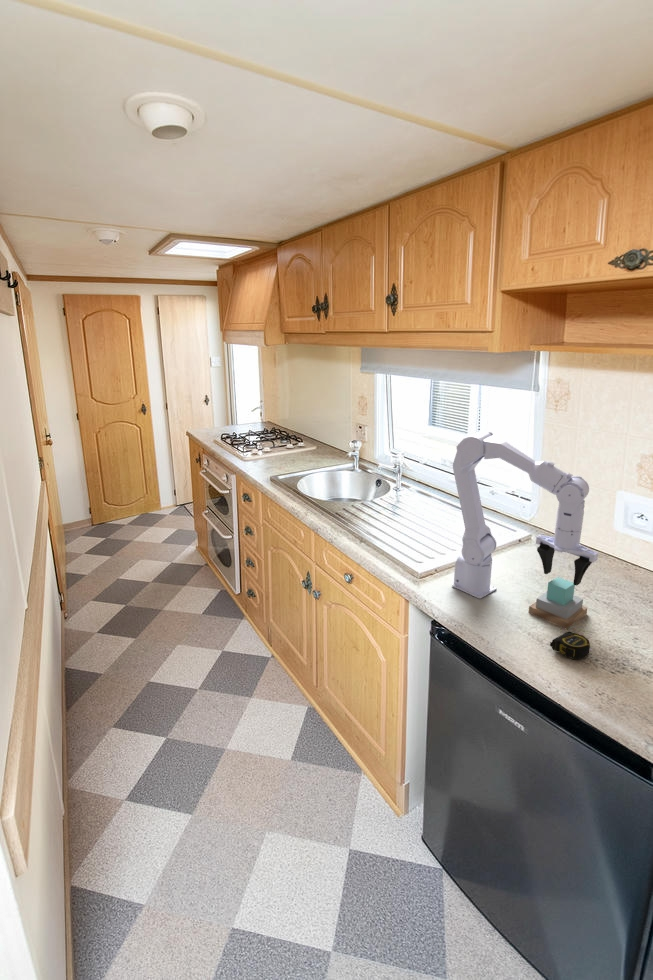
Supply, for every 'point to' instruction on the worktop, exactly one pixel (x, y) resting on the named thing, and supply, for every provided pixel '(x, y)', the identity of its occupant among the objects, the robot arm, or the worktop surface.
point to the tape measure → (571, 645)
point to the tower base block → (557, 619)
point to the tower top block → (559, 606)
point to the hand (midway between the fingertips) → (561, 578)
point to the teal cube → (560, 591)
